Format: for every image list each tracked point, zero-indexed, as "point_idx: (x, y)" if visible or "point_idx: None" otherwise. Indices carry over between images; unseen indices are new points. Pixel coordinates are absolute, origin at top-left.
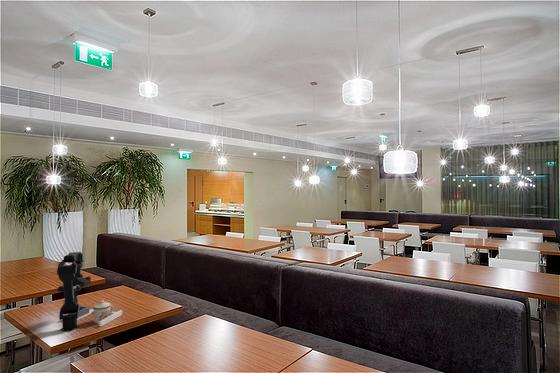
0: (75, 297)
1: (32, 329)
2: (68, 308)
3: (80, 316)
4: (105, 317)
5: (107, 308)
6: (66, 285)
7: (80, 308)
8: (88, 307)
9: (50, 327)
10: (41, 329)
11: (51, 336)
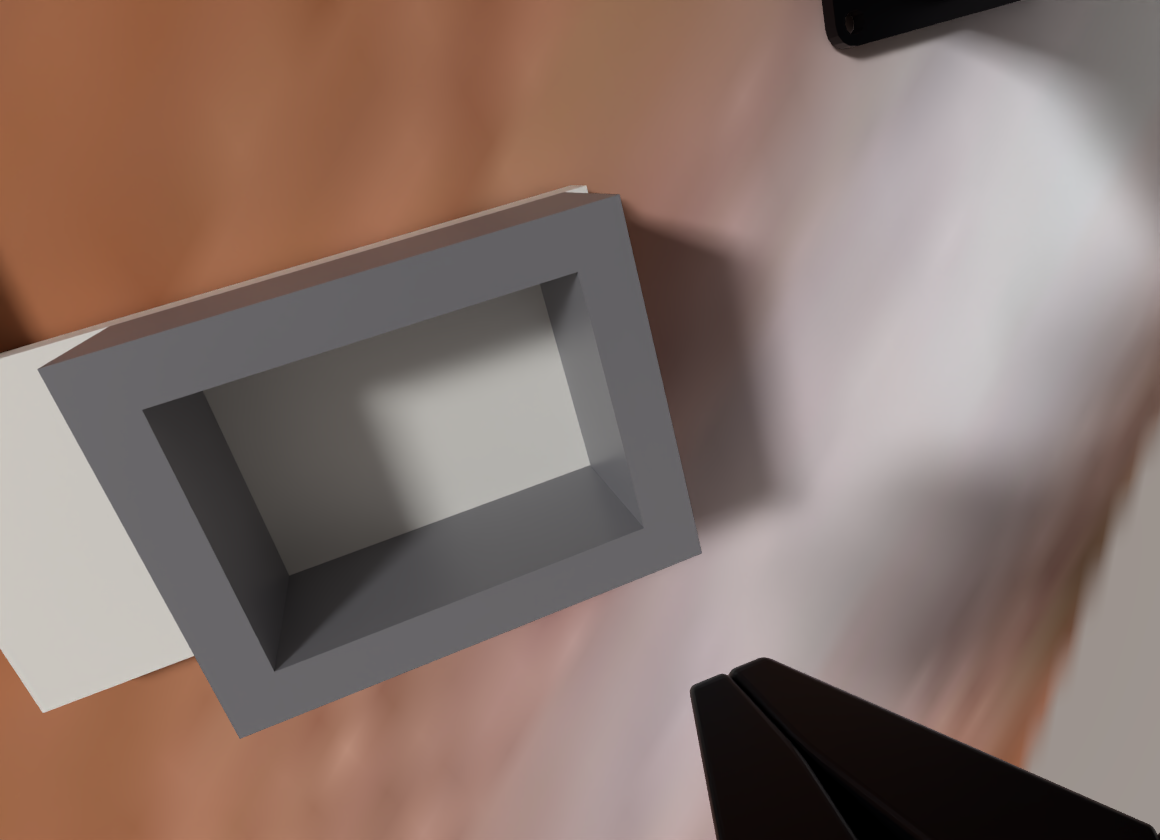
0: (805, 718)
1: (1117, 494)
2: None
3: (470, 221)
4: None
5: None
6: None
7: (269, 617)
8: (101, 349)
9: (994, 327)
10: (1088, 371)
11: None
